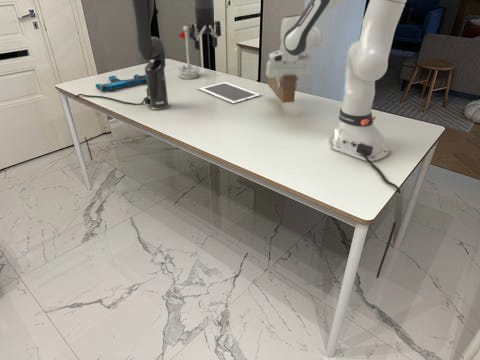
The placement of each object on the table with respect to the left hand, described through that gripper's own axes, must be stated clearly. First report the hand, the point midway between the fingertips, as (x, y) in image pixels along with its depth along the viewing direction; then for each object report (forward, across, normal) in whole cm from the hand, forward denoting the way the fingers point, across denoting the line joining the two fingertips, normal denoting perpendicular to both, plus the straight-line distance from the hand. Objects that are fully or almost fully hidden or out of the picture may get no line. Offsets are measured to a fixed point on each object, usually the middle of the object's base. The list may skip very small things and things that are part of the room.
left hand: (206, 48), depth 147 cm
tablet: (+31, -27, -23) cm, 48 cm away
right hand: (+17, -31, +20) cm, 40 cm away
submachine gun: (+31, +15, -75) cm, 83 cm away
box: (+24, -35, +11) cm, 44 cm away
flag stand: (+31, -24, -64) cm, 75 cm away
